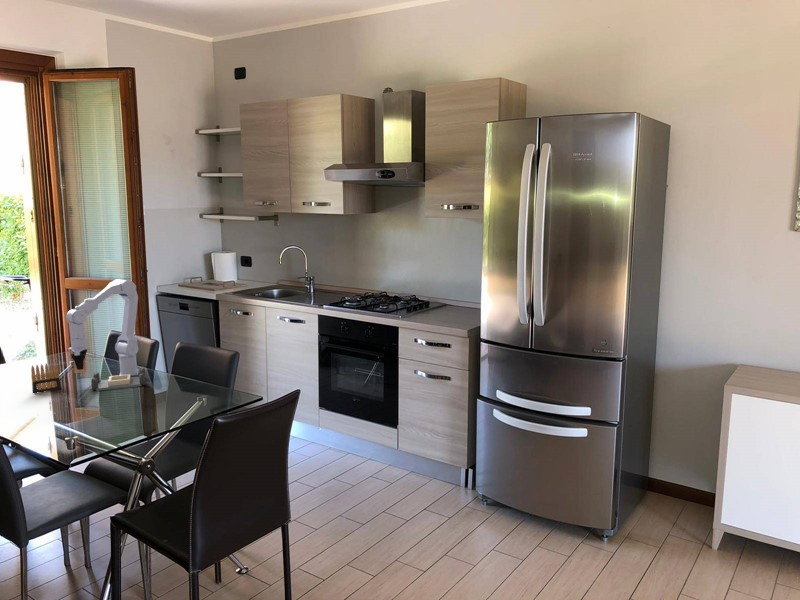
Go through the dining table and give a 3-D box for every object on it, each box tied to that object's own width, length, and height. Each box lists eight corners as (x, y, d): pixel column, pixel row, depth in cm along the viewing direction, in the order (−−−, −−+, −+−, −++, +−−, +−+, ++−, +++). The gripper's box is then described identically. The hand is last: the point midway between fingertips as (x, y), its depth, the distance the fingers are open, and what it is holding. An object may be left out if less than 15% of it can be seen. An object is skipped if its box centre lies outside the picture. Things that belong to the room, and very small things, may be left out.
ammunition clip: (33, 393, 281) (30, 366, 279) (32, 392, 282) (29, 365, 280) (61, 388, 287) (58, 361, 285) (60, 387, 288) (57, 361, 286)
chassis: (95, 382, 295) (94, 371, 294) (145, 377, 302) (145, 366, 301) (92, 391, 282) (91, 380, 281) (145, 386, 289) (144, 374, 288)
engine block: (76, 370, 290) (74, 357, 289) (87, 369, 291) (85, 356, 290) (74, 373, 286) (73, 360, 285) (85, 372, 287) (84, 359, 286)
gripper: (69, 334, 292) (72, 364, 294) (65, 341, 278) (68, 373, 280) (87, 333, 294) (90, 363, 296) (83, 340, 280) (86, 371, 283)
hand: (80, 367), depth 288 cm, fingers closed on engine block, 4 cm apart
